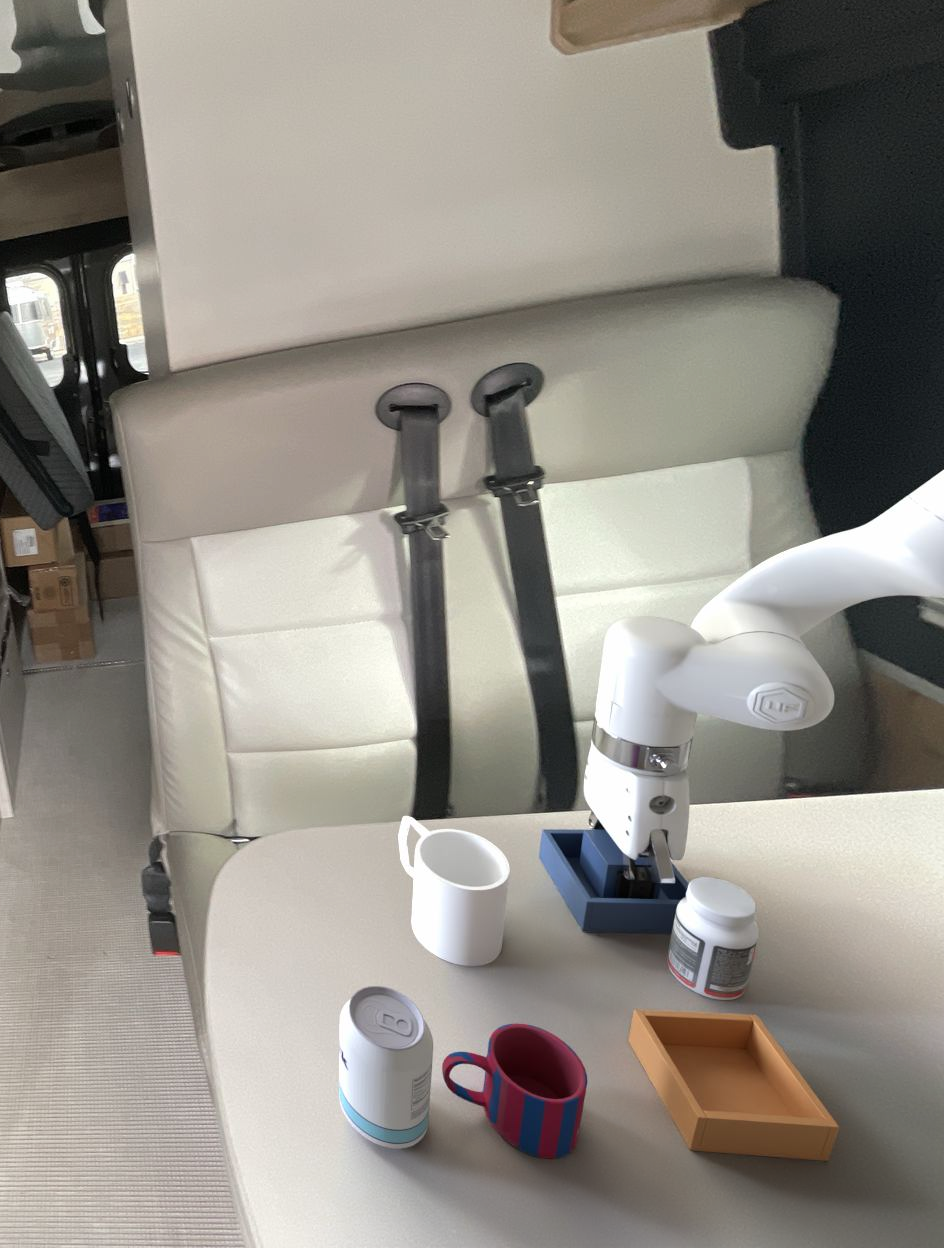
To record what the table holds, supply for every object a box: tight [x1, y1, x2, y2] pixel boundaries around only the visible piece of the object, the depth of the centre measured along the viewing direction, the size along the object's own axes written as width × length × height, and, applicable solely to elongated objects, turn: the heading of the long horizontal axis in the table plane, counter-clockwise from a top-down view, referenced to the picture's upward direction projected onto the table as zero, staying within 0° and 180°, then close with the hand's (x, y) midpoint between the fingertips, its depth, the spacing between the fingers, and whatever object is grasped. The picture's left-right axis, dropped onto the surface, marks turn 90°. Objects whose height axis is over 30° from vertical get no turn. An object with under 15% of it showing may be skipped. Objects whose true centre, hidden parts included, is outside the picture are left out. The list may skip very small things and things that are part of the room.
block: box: [579, 829, 661, 899], centre depth 86 cm, size 5×5×5 cm
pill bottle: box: [666, 876, 759, 1001], centre depth 76 cm, size 6×6×10 cm
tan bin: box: [627, 1008, 840, 1162], centre depth 68 cm, size 9×9×4 cm
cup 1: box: [397, 815, 511, 967], centre depth 86 cm, size 8×12×10 cm
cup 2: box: [441, 1022, 588, 1160], centre depth 69 cm, size 7×10×7 cm
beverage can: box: [338, 985, 434, 1150], centre depth 69 cm, size 7×7×12 cm
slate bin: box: [538, 828, 689, 935], centre depth 87 cm, size 10×10×4 cm
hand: (617, 880), depth 87 cm, fingers closed on block, 5 cm apart
